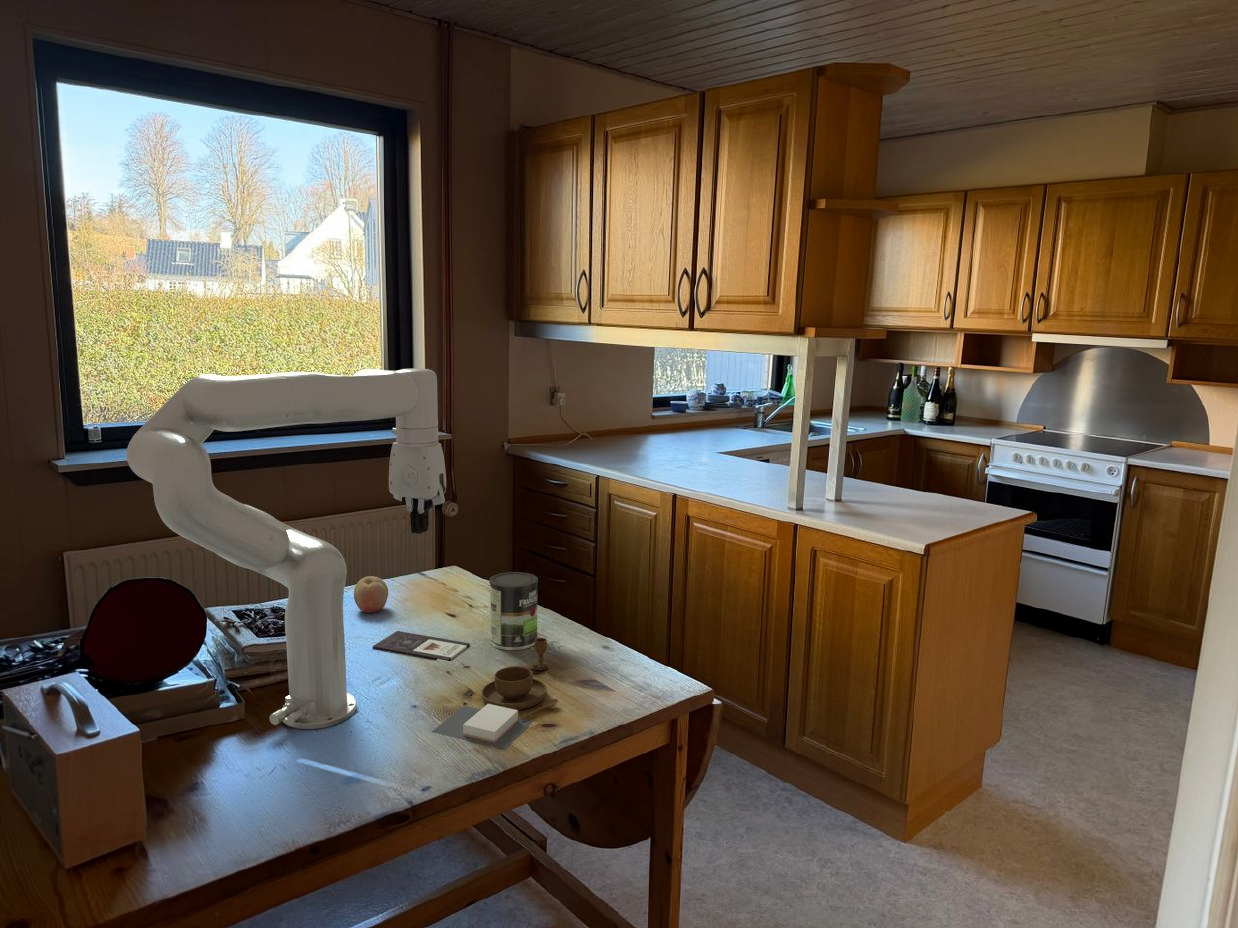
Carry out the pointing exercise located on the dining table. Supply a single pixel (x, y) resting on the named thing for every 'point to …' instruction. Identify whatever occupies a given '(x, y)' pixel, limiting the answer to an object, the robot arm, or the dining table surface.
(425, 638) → the chocolate bar
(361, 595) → the fruit
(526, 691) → the place setting
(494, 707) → the tile
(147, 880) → the dining table surface
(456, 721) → the mat
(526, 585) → the coffee can
